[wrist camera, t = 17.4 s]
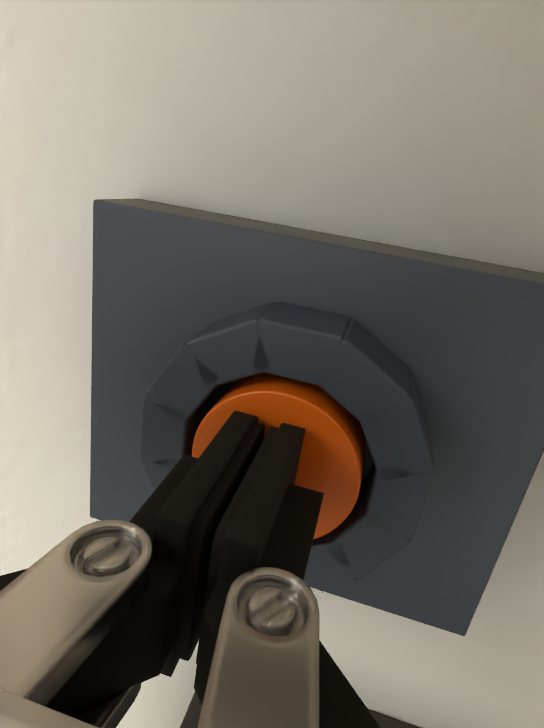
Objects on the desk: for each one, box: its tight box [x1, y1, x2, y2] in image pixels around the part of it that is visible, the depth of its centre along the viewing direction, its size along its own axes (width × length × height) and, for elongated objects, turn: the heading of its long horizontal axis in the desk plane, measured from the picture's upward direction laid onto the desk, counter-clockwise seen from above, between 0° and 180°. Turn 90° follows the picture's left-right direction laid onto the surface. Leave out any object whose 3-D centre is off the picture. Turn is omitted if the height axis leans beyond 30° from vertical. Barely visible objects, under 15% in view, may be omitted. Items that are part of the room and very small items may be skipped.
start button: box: [192, 372, 366, 539], centre depth 12 cm, size 4×4×2 cm
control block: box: [90, 199, 544, 636], centre depth 13 cm, size 12×10×4 cm
